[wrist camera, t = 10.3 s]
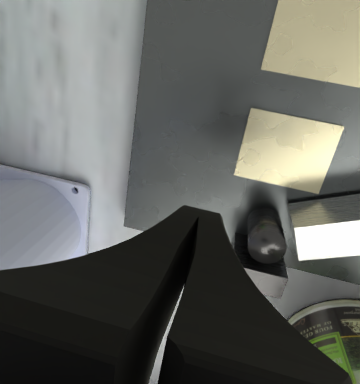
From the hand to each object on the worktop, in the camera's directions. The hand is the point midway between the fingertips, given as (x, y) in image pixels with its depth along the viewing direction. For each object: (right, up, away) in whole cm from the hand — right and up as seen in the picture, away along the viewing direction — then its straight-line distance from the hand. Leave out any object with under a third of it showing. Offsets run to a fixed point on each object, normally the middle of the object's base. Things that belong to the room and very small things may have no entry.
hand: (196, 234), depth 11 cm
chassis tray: (+6, +6, +8) cm, 11 cm away
